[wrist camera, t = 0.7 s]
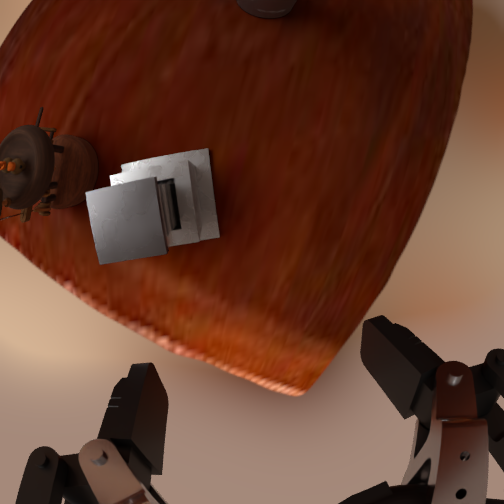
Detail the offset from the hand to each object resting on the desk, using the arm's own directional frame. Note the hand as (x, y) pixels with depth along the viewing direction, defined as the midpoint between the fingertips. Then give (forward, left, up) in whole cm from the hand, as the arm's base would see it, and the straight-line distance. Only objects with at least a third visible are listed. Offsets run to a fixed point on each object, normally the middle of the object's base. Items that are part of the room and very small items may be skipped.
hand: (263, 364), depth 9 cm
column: (-5, -7, -28) cm, 29 cm away
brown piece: (-13, -22, -29) cm, 39 cm away
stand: (-5, -7, -29) cm, 30 cm away
